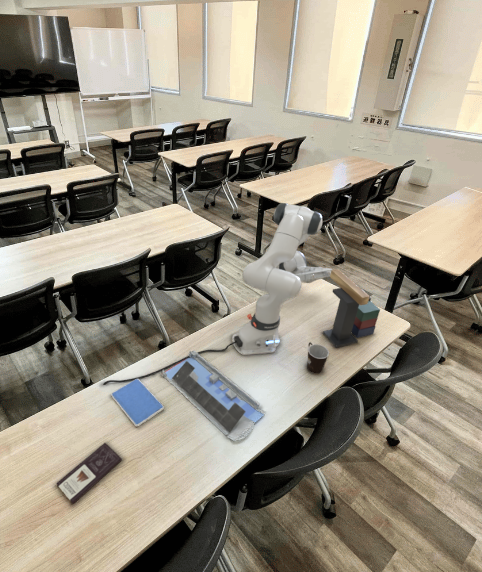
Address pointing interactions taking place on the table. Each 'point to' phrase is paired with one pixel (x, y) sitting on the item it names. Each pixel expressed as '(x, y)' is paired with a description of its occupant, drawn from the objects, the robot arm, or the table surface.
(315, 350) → the coffee mug
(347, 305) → the stand
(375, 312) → the book stack
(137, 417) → the tablet
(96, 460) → the chocolate bar
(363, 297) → the wooden bar
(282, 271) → the robot arm
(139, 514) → the table surface
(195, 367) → the blue parts tray
